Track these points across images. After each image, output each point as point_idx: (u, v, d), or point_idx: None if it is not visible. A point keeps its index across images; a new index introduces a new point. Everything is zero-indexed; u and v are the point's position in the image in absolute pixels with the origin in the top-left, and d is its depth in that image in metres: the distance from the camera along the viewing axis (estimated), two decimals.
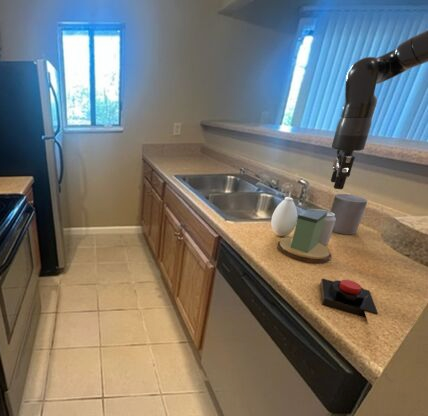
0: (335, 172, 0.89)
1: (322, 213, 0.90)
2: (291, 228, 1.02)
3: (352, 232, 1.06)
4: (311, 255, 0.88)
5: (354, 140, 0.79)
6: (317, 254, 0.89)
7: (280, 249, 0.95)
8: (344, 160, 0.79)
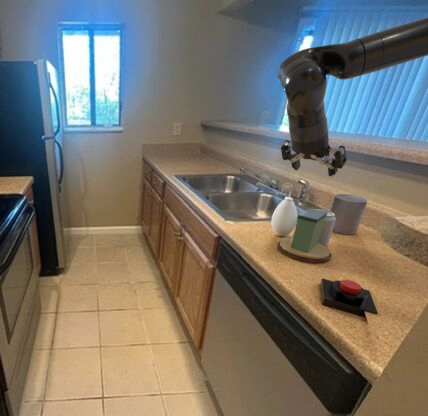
0: (296, 162, 0.79)
1: (322, 213, 0.90)
2: (291, 228, 1.02)
3: (352, 232, 1.06)
4: (311, 255, 0.88)
5: (327, 135, 0.67)
6: (317, 254, 0.89)
7: (280, 249, 0.95)
8: (341, 155, 0.67)
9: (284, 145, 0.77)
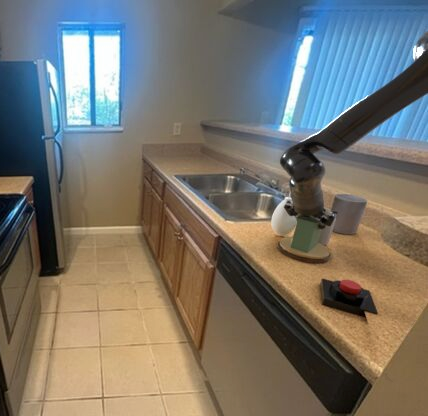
0: None
1: None
2: (291, 228, 1.02)
3: (352, 232, 1.06)
4: (311, 255, 0.88)
5: (323, 202, 0.80)
6: (317, 254, 0.89)
7: (280, 249, 0.95)
8: None
9: (286, 205, 0.90)
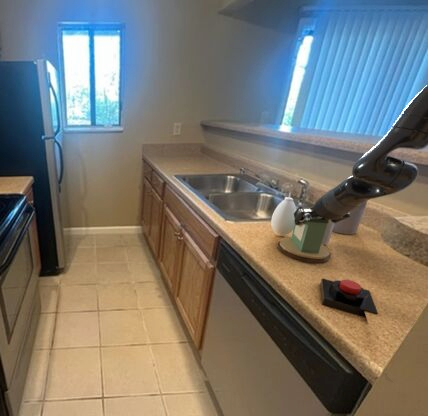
0: None
1: None
2: (291, 228, 1.02)
3: (352, 232, 1.06)
4: (324, 254, 0.88)
5: None
6: (323, 251, 0.90)
7: (280, 249, 0.95)
8: None
9: (302, 212, 0.84)
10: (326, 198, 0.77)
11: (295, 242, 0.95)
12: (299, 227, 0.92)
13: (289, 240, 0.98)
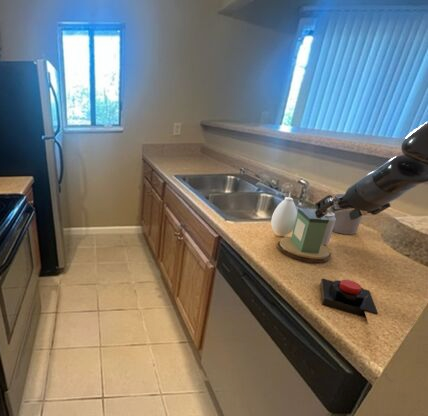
0: None
1: None
2: (291, 228, 1.02)
3: (352, 232, 1.06)
4: (324, 254, 0.88)
5: None
6: (323, 251, 0.90)
7: (280, 249, 0.95)
8: None
9: (332, 201, 0.71)
10: (362, 185, 0.64)
11: (295, 242, 0.95)
12: (299, 227, 0.92)
13: (289, 240, 0.98)
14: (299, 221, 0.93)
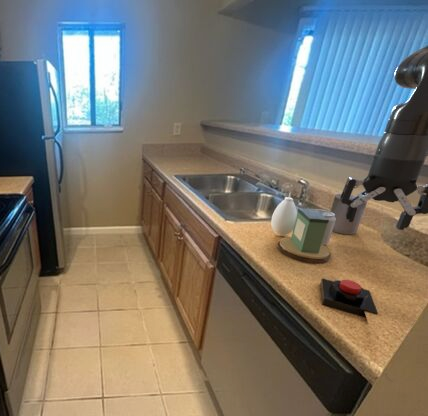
0: None
1: (315, 211, 0.92)
2: (291, 228, 1.02)
3: (352, 232, 1.06)
4: (324, 254, 0.88)
5: None
6: (323, 251, 0.90)
7: (280, 249, 0.95)
8: None
9: (353, 179, 0.63)
10: None
11: (295, 242, 0.95)
12: (299, 227, 0.92)
13: (289, 240, 0.98)
14: (299, 221, 0.93)
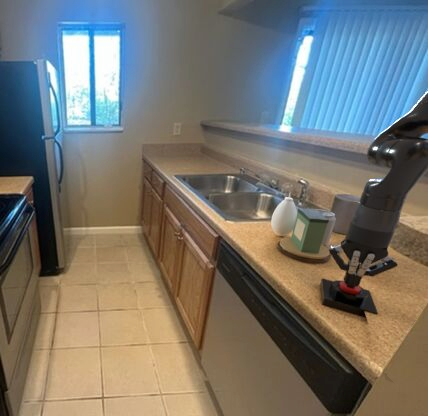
0: None
1: (315, 211, 0.92)
2: (291, 228, 1.02)
3: None
4: (324, 254, 0.88)
5: None
6: (323, 251, 0.90)
7: (280, 249, 0.95)
8: None
9: (331, 248, 0.69)
10: (353, 214, 0.65)
11: (295, 242, 0.95)
12: (299, 227, 0.92)
13: (289, 240, 0.98)
14: (299, 221, 0.93)
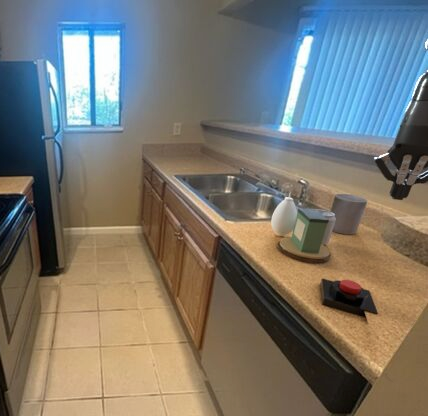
0: None
1: (315, 211, 0.92)
2: (291, 228, 1.02)
3: (352, 232, 1.06)
4: (324, 254, 0.88)
5: None
6: (323, 251, 0.90)
7: (280, 249, 0.95)
8: None
9: (377, 158, 0.64)
10: (404, 115, 0.60)
11: (295, 242, 0.95)
12: (299, 227, 0.92)
13: (289, 240, 0.98)
14: (299, 221, 0.93)
